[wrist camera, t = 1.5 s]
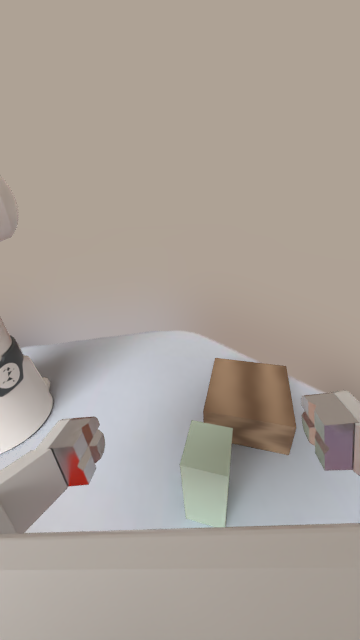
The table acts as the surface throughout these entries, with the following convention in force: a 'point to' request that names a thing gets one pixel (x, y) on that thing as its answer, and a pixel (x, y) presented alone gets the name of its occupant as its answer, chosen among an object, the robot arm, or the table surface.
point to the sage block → (206, 473)
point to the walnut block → (252, 404)
